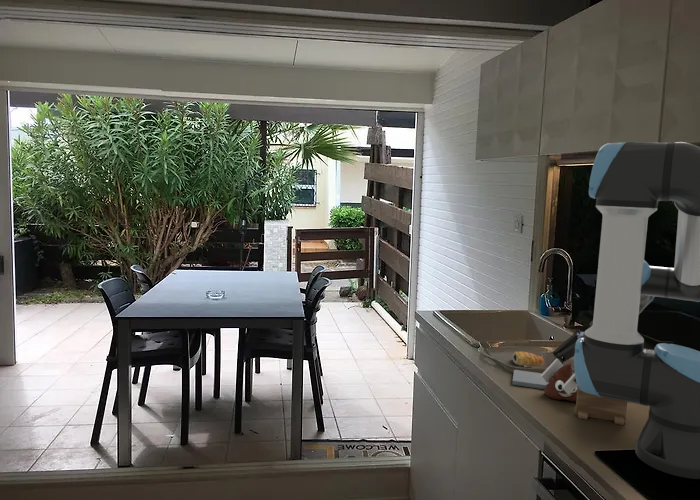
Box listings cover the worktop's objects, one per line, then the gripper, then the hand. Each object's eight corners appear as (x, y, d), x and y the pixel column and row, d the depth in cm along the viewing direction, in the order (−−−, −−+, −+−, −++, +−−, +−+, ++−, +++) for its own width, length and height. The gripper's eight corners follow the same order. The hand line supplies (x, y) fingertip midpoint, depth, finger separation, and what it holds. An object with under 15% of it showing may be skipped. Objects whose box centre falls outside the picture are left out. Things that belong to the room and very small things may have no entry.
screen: (626, 425, 134) (631, 367, 132) (576, 417, 137) (581, 361, 135) (623, 417, 138) (628, 361, 137) (575, 410, 142) (579, 355, 140)
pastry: (540, 361, 181) (541, 349, 181) (546, 368, 175) (547, 356, 174) (510, 360, 182) (511, 348, 181) (516, 367, 175) (517, 355, 174)
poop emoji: (581, 393, 153) (584, 360, 152) (585, 405, 145) (589, 370, 144) (542, 389, 156) (545, 356, 155) (544, 400, 148) (547, 365, 146)
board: (550, 390, 155) (550, 385, 155) (512, 384, 158) (512, 380, 158) (549, 378, 165) (549, 374, 165) (513, 373, 168) (514, 369, 168)
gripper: (648, 343, 142) (589, 409, 140) (591, 322, 162) (538, 380, 160) (633, 323, 140) (573, 390, 137) (577, 304, 160) (523, 363, 157)
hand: (554, 384), depth 149 cm, fingers closed on poop emoji, 8 cm apart
